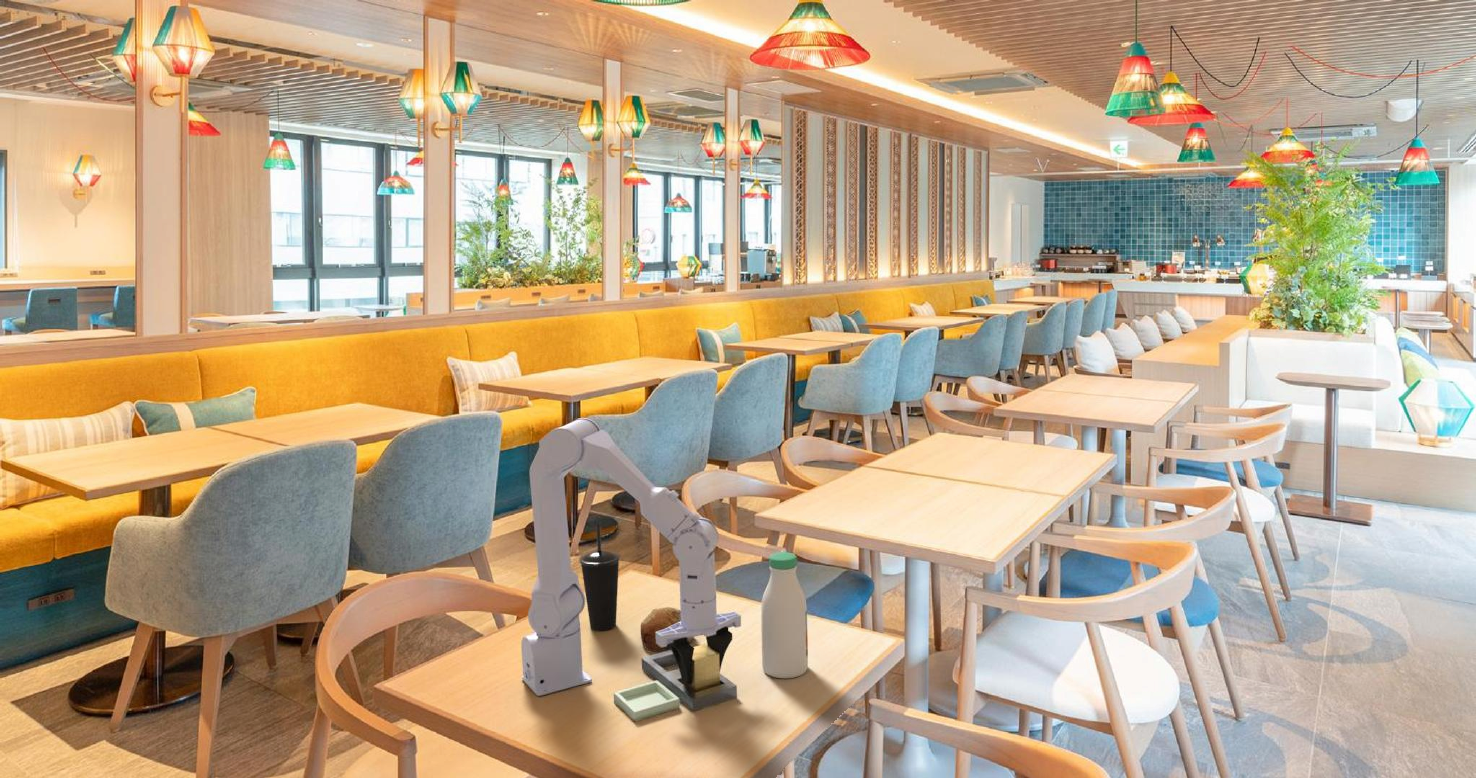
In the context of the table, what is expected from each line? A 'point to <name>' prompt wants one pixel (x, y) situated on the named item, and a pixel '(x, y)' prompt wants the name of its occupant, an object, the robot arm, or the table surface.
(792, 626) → the milk bottle
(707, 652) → the wood grain cuboid
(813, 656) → the table surface
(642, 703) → the tray
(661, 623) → the bread roll
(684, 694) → the grey flat frame
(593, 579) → the drinking cup
